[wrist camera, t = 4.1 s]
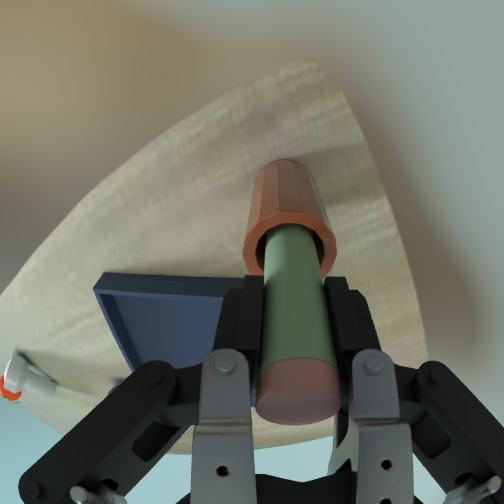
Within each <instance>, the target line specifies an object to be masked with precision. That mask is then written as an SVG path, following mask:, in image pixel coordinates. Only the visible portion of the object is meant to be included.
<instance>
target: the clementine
mask: <svg viewBox="0 0 504 504" xmlns="http://www.w3.org/2000/svg"><path fill="white" fill-rule="evenodd" d="M3 386H4V375H3V376H1V378H0V393H1V394H2V396H4V398H6V399H7V400H8V401H9V400H11V401H14V400H17V399H18V398H19V397H20V395H21V392H22V391H19V392H17V393H13V392H11V391H9V390H7V389H5V388H4V387H3ZM11 401H10V402H11ZM18 403H19V402H18Z"/></svg>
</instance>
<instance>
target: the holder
mask: <svg viewBox="0 0 504 504" xmlns="http://www.w3.org/2000/svg"><path fill="white" fill-rule="evenodd" d="M282 223H300V224H302V225H304V226H306V227H308V228H310V229H312V233H313V237H314V242H315V246H316V251H317V255H318V260H319V265H320V270H321V275H322V278H323V277H325V276H326V275H327V274H328V273H329V271H330V270H331V268H332V266H333V263H334V261H335V258H336V256H337V249H336V240H335V235H334V233H333V230H332V227H331V224H330V221H329V219H328V216H327V213H326V210H325V208H324V205H323V202H322V200H321V197H320V194H319V192H318V189H317V186H316V184H315V181H314V179H313V178H312V176H311V174H310V172H309V171H308V170H307V169H306V168H305V167H304V166H303V165H301V164H299V163H297V162H295V161H291V160H277V161H274V162H272V163H269V164H268V165H266V166H265V167H264V168H263V169H262V170H261V171H260V172H259V174H258V176H257V178H256V181H255V186H254V190H253V195H252V201H251V206H250V212H249V217H248V222H247V228H246V233H245V239H244V244H243V250H242V255H243V258H244V261H245V265H246V268H247V270H248V271H249V272H250V273H251V274H252V275H264V266H265V249H266V231H267V230H268V229H270V228H273V227H275V226H277V225H280V224H282Z"/></svg>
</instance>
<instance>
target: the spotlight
mask: <svg viewBox="0 0 504 504" xmlns="http://www.w3.org/2000/svg"><path fill="white" fill-rule="evenodd" d="M3 387H4V388H5V389H7V390H9V391H11V392H13V393H17V392H19V391H22V390H24V391H26V392H28V393H30V394H32V395H34V396H36V397H38V398H40V399H42V400H44V401H47V402H49V403H51V401H52V399H53V396H54V393H55V388H56V383H55V382H53V381H51V380H49V379H47V378H45V377H43V376H41V375H39V374H37V373H35V372H33V371H31V370H30V369H29V368H28V365H27V363H26V360H25V358H23V357H21V356H20V355H18V354H16V353H15V352H14V353H13V356H12V358H11V359H10V360H9V362H8V364H7V367H6V370H5V375H4V386H3Z"/></svg>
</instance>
